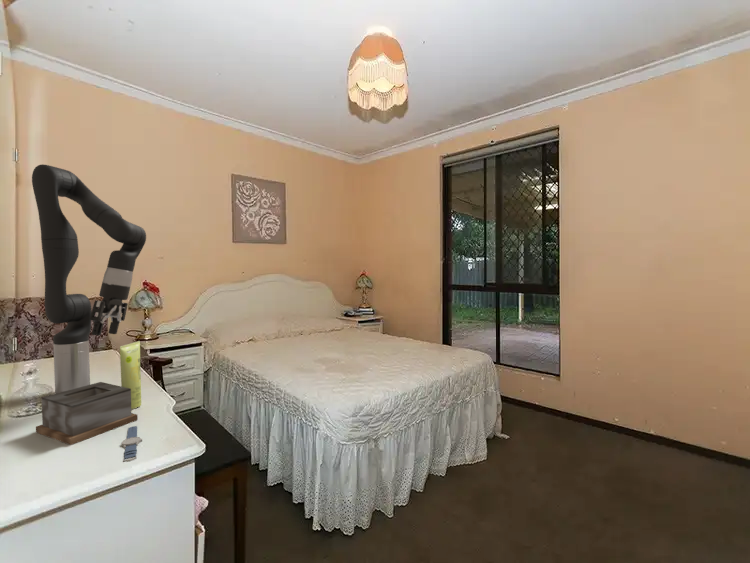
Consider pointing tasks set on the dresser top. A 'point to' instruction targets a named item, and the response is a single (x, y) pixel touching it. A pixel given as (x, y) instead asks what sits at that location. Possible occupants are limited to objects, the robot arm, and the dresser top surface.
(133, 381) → the tube
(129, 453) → the wristwatch
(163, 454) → the dresser top surface
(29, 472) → the dresser top surface
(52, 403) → the socket
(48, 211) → the robot arm
